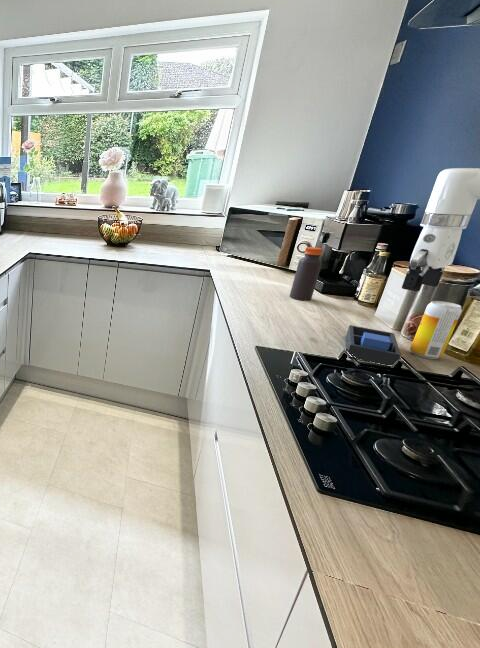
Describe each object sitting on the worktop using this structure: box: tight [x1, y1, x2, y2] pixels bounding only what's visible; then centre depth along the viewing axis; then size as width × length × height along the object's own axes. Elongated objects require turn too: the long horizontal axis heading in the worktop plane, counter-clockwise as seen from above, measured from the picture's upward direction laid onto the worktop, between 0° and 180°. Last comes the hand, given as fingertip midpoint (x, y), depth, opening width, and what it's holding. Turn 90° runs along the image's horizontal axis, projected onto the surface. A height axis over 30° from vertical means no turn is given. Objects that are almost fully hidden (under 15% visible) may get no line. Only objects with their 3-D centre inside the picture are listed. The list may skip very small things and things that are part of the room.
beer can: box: [409, 300, 463, 360], centre depth 108 cm, size 6×6×15 cm
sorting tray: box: [345, 324, 401, 366], centre depth 112 cm, size 10×18×4 cm, turn 138°
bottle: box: [289, 246, 323, 301], centre depth 154 cm, size 7×7×20 cm
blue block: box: [359, 332, 391, 351], centre depth 109 cm, size 5×5×5 cm
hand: (419, 287), depth 103 cm, fingers open, 9 cm apart
